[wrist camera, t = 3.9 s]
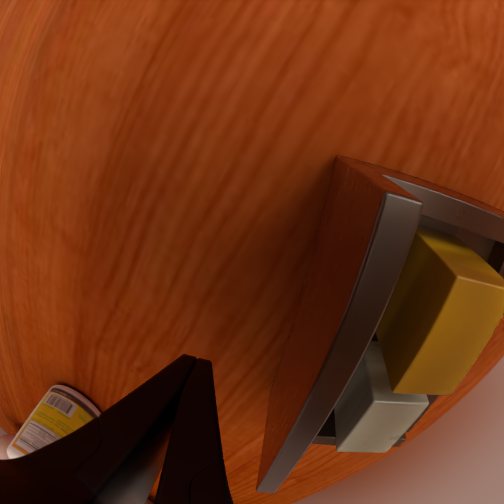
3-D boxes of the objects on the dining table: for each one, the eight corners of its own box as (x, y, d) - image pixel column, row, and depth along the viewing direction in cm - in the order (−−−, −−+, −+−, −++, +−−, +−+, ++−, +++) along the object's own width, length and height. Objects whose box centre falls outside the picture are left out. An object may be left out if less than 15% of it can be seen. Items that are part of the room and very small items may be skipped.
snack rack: (503, 211, 9) (595, 274, 4) (402, 406, 14) (419, 492, 9) (336, 154, 10) (385, 189, 4) (270, 391, 15) (255, 491, 9)
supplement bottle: (85, 425, 21) (39, 506, 12) (43, 383, 19) (-15, 464, 10) (120, 426, 19) (71, 525, 10) (73, 378, 18) (4, 479, 8)
